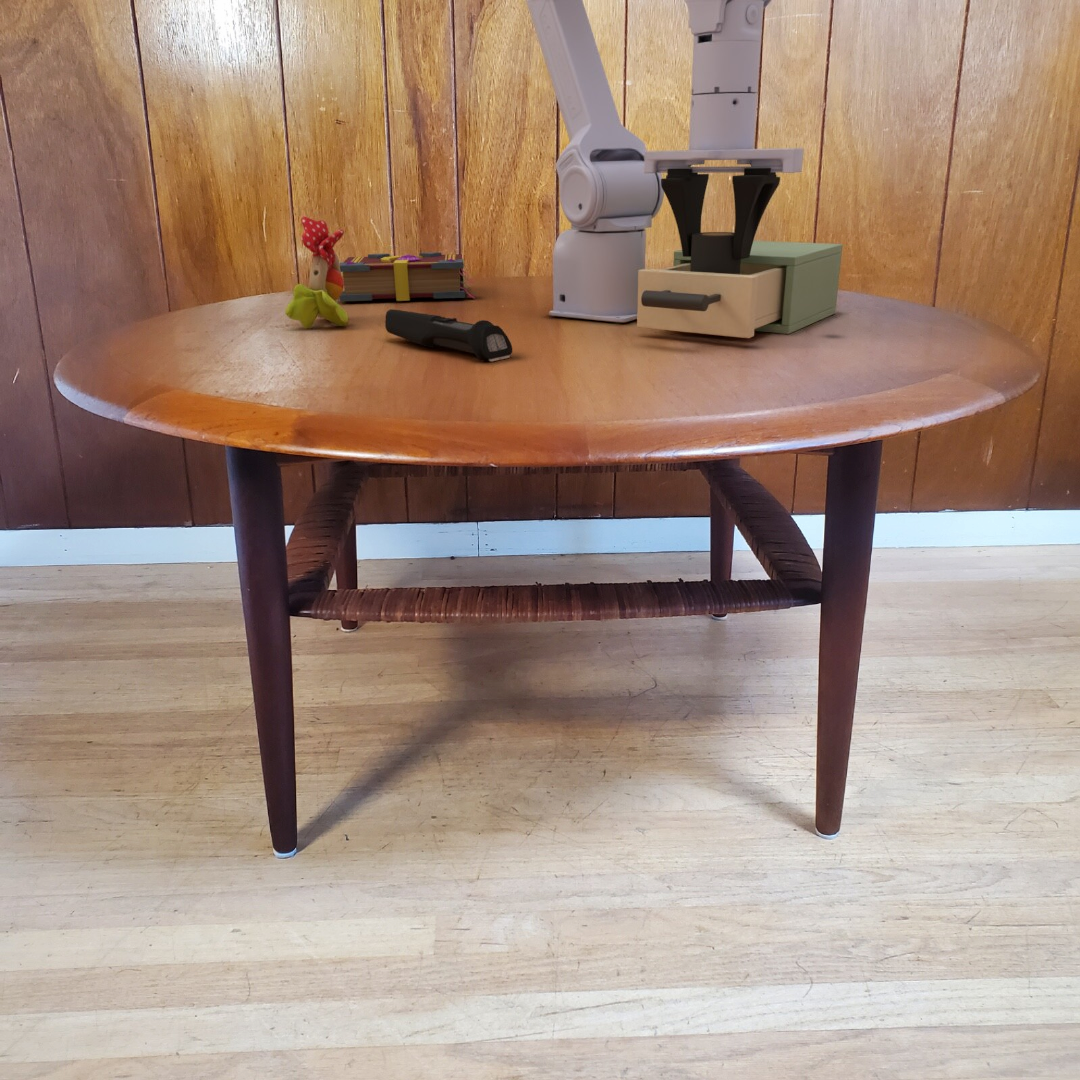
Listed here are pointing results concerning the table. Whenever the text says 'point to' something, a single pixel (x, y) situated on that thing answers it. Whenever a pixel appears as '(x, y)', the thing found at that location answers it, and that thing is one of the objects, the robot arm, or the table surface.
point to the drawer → (711, 299)
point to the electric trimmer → (450, 334)
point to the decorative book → (403, 277)
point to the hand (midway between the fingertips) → (715, 257)
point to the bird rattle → (319, 278)
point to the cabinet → (798, 280)
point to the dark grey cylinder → (714, 253)
